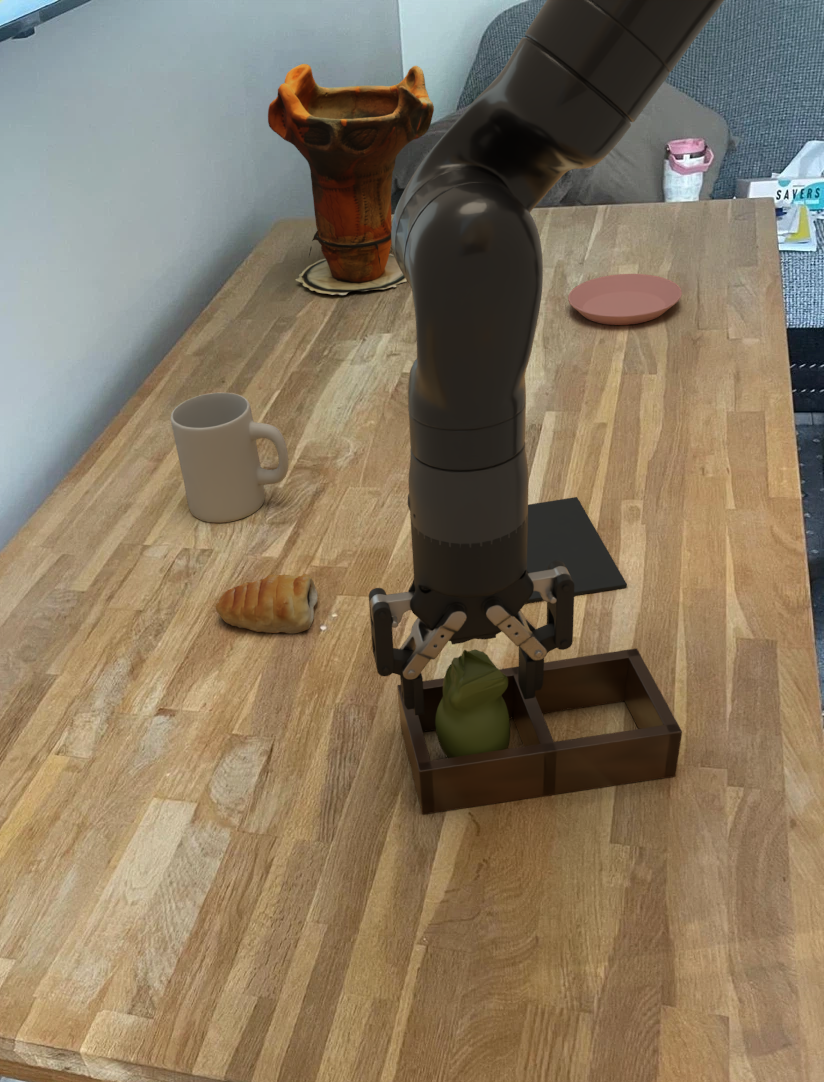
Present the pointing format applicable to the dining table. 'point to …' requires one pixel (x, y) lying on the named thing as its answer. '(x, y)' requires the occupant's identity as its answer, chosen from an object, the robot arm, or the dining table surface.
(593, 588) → the mat
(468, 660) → the green rounded tall piece
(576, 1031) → the dining table surface
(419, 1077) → the dining table surface
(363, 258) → the decorative vase
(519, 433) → the robot arm
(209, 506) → the mug
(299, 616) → the pastry
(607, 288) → the plate
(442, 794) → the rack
